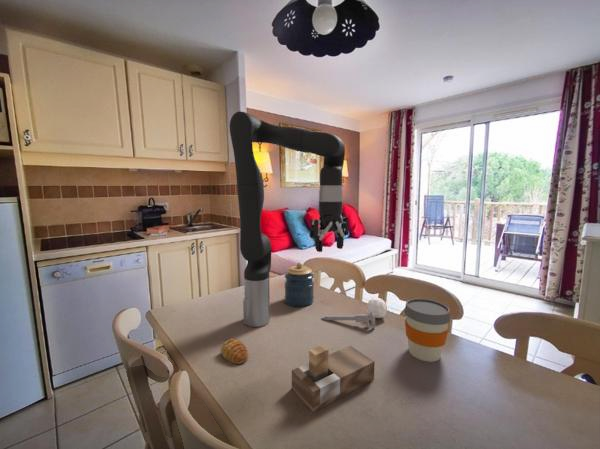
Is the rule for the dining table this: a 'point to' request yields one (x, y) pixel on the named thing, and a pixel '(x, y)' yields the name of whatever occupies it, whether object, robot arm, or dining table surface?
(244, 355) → the pastry
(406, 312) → the reusable coffee cup
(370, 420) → the dining table surface
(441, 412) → the dining table surface
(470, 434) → the dining table surface
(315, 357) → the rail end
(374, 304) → the geometric ball
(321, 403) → the notched wooden block
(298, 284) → the canister
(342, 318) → the caliper
